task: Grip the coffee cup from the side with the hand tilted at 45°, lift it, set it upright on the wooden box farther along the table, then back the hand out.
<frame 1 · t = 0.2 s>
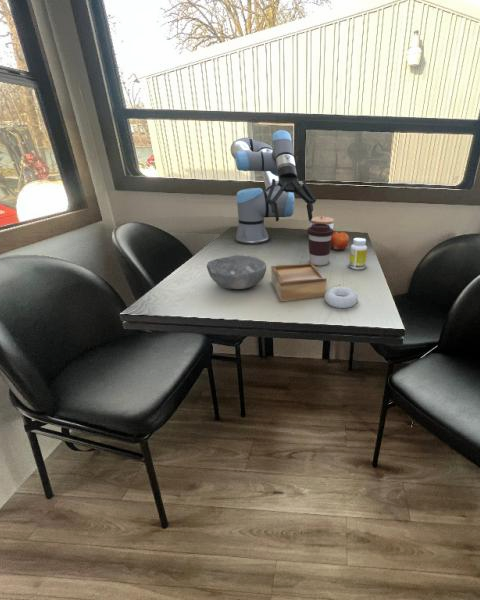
hand: (294, 219, 116), 15 cm above the table, tool tilted 35°, fingers open, 13 cm apart
lidded bowl: (320, 237, 154), on the table
pill bottle: (356, 267, 116), on the table
bowl: (239, 286, 96), on the table
tomato: (338, 249, 136), on the table
wooden box: (297, 289, 95), on the table
coffee cup: (319, 263, 118), on the table
donut: (340, 302, 88), on the table
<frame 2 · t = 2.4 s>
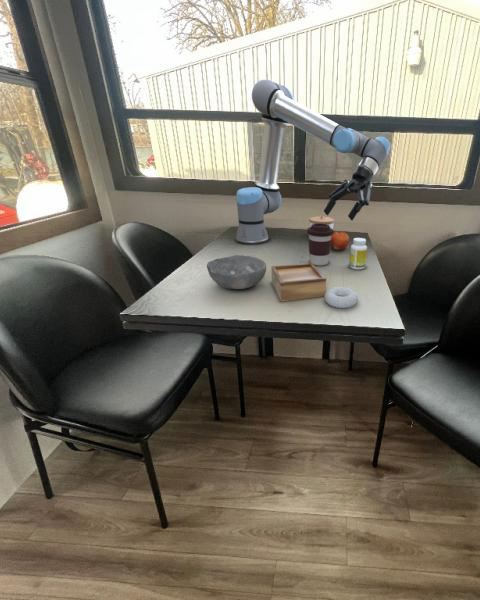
hand: (337, 215, 116), 17 cm above the table, tool tilted 45°, fingers open, 13 cm apart
nothing on the table moved.
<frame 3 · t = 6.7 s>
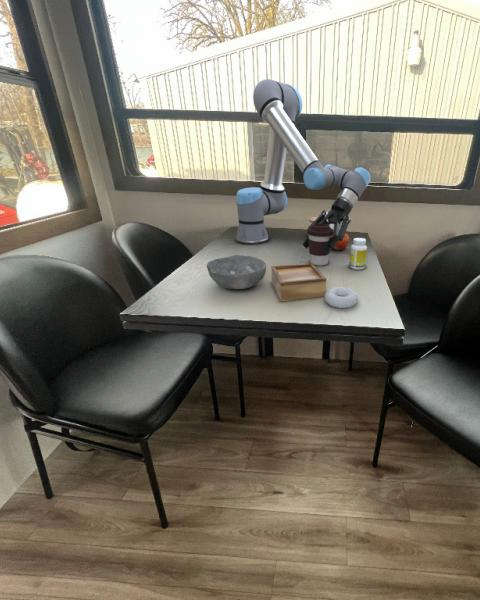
hand: (314, 249, 114), 6 cm above the table, tool tilted 45°, fingers closed on coffee cup, 10 cm apart
coffee cup: (319, 263, 118), on the table, touching gripper
everything else where it was.
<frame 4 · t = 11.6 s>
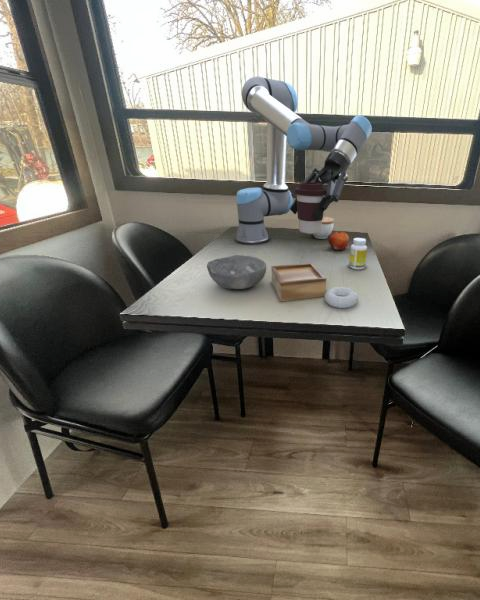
hand: (303, 214, 93), 22 cm above the table, tool tilted 45°, fingers closed on coffee cup, 10 cm apart
coffee cup: (310, 232, 98), point 16 cm above the table, touching gripper
everything else where it was.
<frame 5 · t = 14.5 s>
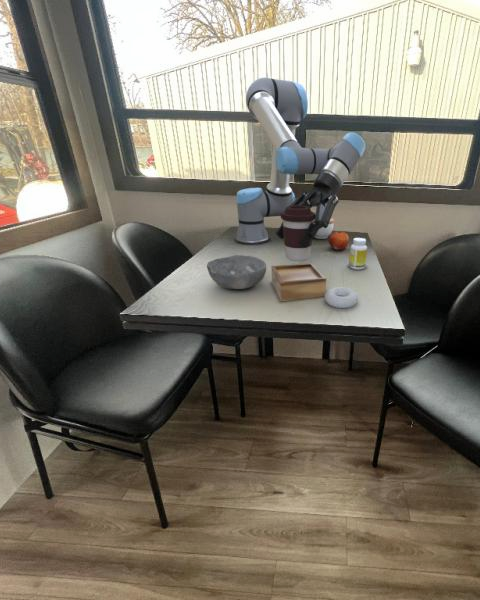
hand: (290, 240, 86), 17 cm above the table, tool tilted 45°, fingers closed on coffee cup, 10 cm apart
coffee cup: (298, 258, 90), point 10 cm above the table, touching gripper
everything else where it was.
when the fingers open (11 cm above the table, at t = 16.6 s): coffee cup stays where it is, resting on wooden box.
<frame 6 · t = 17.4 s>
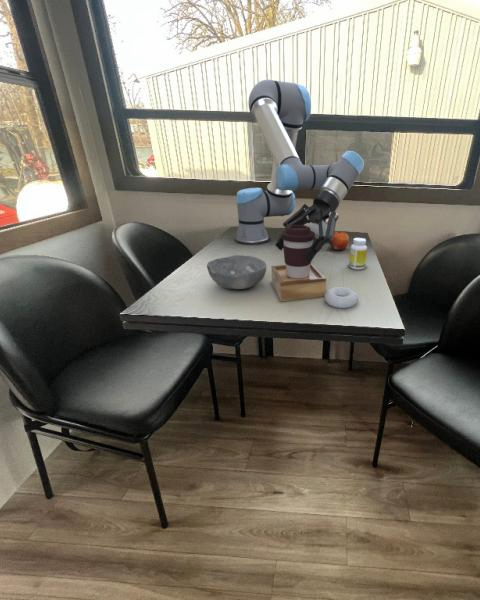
hand: (291, 253, 88), 13 cm above the table, tool tilted 45°, fingers open, 13 cm apart
coffee cup: (297, 275, 93), point 5 cm above the table, touching wooden box
everything else where it was.
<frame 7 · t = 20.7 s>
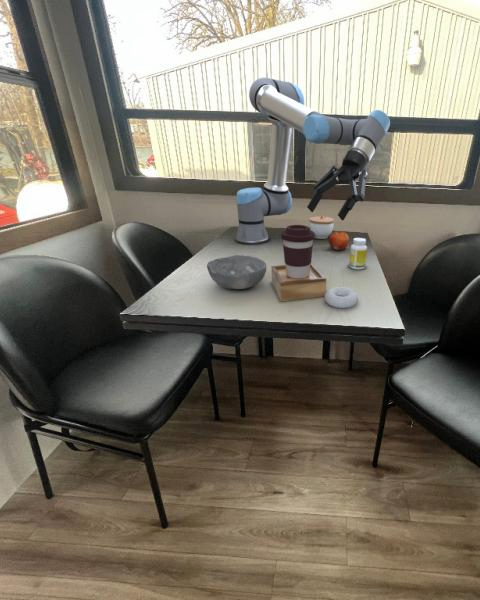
hand: (324, 213, 93), 23 cm above the table, tool tilted 40°, fingers open, 13 cm apart
nothing on the table moved.
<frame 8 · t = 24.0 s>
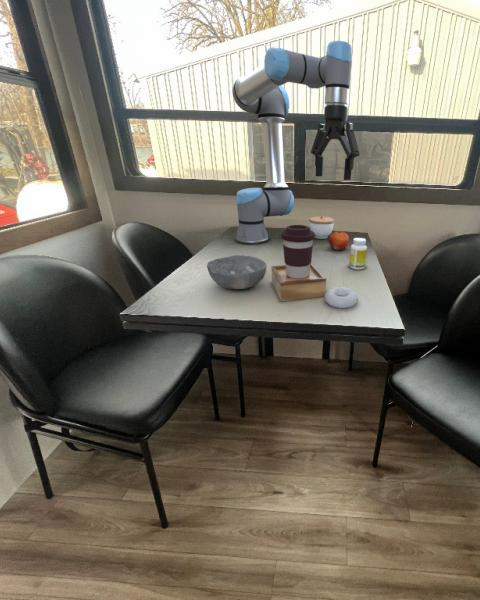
hand: (332, 178, 103), 32 cm above the table, tool pointing down, fingers open, 13 cm apart
nothing on the table moved.
at the end: coffee cup inside the target area on the wooden box (0.0 cm from its centre), point 4.8 cm above the wooden box's base; coffee cup tilted 0°; the gripper is holding nothing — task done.
